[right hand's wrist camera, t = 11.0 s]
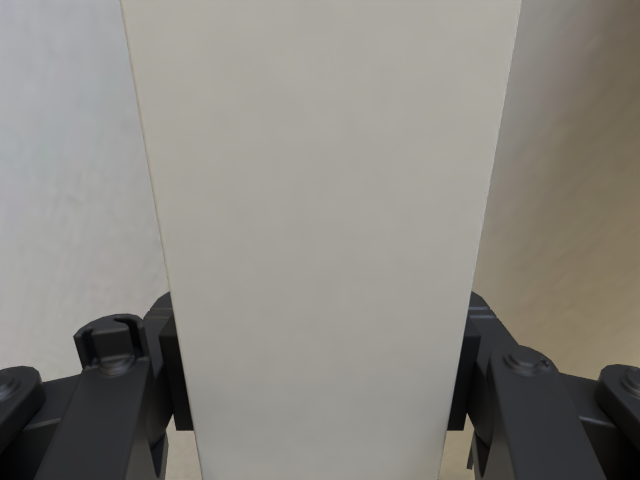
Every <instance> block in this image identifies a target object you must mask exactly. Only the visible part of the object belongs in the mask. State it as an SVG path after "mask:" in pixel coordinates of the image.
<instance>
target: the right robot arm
mask: <svg viewBox="0 0 640 480" xmlns="http://www.w3.org/2000/svg"><path fill="white" fill-rule="evenodd" d="M73 338H74V341H75V344H76V348H77V351H78V355H79V358H80V361H81V365H82V368H83V370H82V372H81V374H78V375H75V376H71V377H66V378H61V379H57V380H52V381H47V382H42V380H41V377H40V374H39V372H38V371H37V370H36V369H35V368H33V367H27V366H18V367H11V368H6V369H2V370H0V480H165V473H166V464H167V455H168V446H169V445H168V438H167V433H166V428H167V426H168V423H169V421H170V419H171V417H172V415H173V416H174V421H175V426H176V431H194V427H193V422H192V416H191V410H190V404H189V399H188V393H187V387H186V381H185V375H184V370H183V364H182V358H181V352H180V346H179V341H178V335H177V329H176V323H175V318H174V312H173V306H172V300H171V294H170V291H169V292H168V293H166V294H164V295H163V296H161V297H160V298H158V299H157V301H156V302H155V303H154V305H153V306H152V307H151V308H150V311H148V312H147V314H146V315H145V316H144V319H143V320H142V319H141V318H140V317H139V316H137V315H132V314H114V315H110V316H105V317H102V318H99V319H97V320H94V321H92V322H90V323H88V324H87V325H85V326H83V327H82V328H80V329H79V330H78V331H77V333H76V334H75V335H74V336H73ZM467 413H468V415H469V418H470V420H471V422H472V424H473V426H474V433H473V438H472V443H471V448H470V452H469V457H468V463H467V469H471V470H472V466H473V463H474V472H475V480H640V368H638V367H633V366H628V365H620V364H615V365H608V366H606V367H605V368H603V369H602V370H601V373H600V376H599V379H598V381H596V380H591V379H587V378H582V377H577V376H572V375H567V374H564V373H560V372H559V371H558V369H557V368H556V366H555V365H554V363H553V362H552V361H551V360H550V359H549V358H547V357H546V356H545V355H543V354H542V353H540V352H538V351H536V350H534V349H531V348H529V347H525V346H521V345H518V343H517V342H516V341H515V339H514V338H513V337H512V336H511V334H510V333H509V332H508V330H507V329H506V328H505V326H504V325H503V324H502V323H501V321H500V320H499V319H498V318H496V315H495V314H494V312H493V311H492V310H490V307H489V306H488V305H487V303H486V302H485V301H484V299H483V298H482V297H481V296H479V295H477V294H476V293H474V292H473V291H471V295H470V301H469V307H468V312H467V318H466V324H465V329H464V335H463V341H462V347H461V352H460V358H459V364H458V369H457V375H456V381H455V386H454V392H453V398H452V404H451V409H450V415H449V421H448V426H447V431H463V430H464V425H465V419H466V414H467Z"/></svg>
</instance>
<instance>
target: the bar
mask: <svg viewBox="0 0 640 480" xmlns="http://www.w3.org/2000/svg"><path fill="white" fill-rule="evenodd" d="M120 5H121V11H122V17H123V22H124V28H125V34H126V40H127V46H128V51H129V57H130V63H131V69H132V74H133V80H134V86H135V92H136V98H137V103H138V109H139V115H140V121H141V127H142V132H143V138H144V144H145V150H146V155H147V161H148V167H149V173H150V179H151V184H152V190H153V196H154V202H155V208H156V213H157V219H158V225H159V231H160V236H161V242H162V248H163V254H164V260H165V265H166V271H167V277H168V283H169V289H170V294H171V300H172V306H173V312H174V318H175V323H176V329H177V335H178V341H179V346H180V352H181V358H182V364H183V370H184V375H185V381H186V387H187V393H188V399H189V404H190V410H191V416H192V422H193V427H194V433H195V439H196V445H197V451H198V456H199V462H200V468H201V474H202V480H438V478H439V472H440V466H441V461H442V455H443V449H444V443H445V438H446V432H447V426H448V421H449V415H450V409H451V404H452V398H453V392H454V386H455V381H456V375H457V369H458V364H459V358H460V352H461V347H462V341H463V335H464V329H465V324H466V318H467V312H468V307H469V301H470V295H471V290H472V284H473V278H474V272H475V267H476V261H477V255H478V250H479V244H480V238H481V233H482V227H483V221H484V215H485V210H486V204H487V198H488V193H489V187H490V181H491V176H492V170H493V164H494V158H495V153H496V147H497V141H498V136H499V130H500V124H501V119H502V113H503V107H504V101H505V96H506V90H507V84H508V79H509V73H510V67H511V62H512V56H513V50H514V44H515V39H516V33H517V27H518V22H519V16H520V10H521V5H522V0H120Z"/></svg>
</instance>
